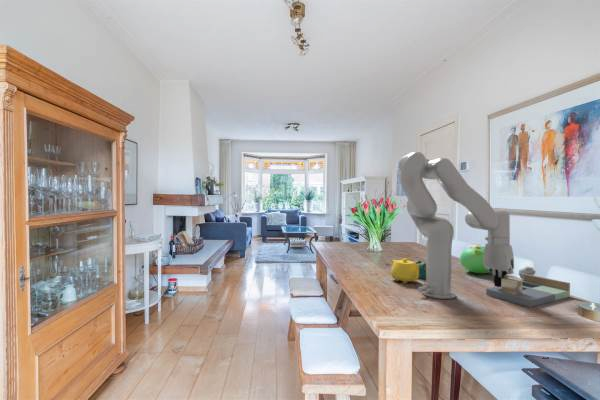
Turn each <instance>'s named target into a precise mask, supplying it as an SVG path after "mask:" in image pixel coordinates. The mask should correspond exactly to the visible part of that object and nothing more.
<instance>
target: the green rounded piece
mask: <svg viewBox="0 0 600 400" xmlns="http://www.w3.org/2000/svg"><path fill="white" fill-rule="evenodd" d="M484 249H485V246H481V245H480V244H475V245H474V246H471V247H467V248H465V249H464V250H463V251H462V252H461V254H460V257H459V260H460V261H459V262H460V264H461V266H462V267H463V268H464V269H465V270H466V271H469V272H472V273H474V274H489V273H491V272H490V271H489V270H487V269H485V266H484V265H483V256H484Z"/></svg>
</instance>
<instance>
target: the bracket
mask: <svg viewBox="0 0 600 400" xmlns="http://www.w3.org/2000/svg"><path fill="white" fill-rule="evenodd" d="M413 262H415V263H416V265H417V264H421V265H420V266H419V278H418V279H420V280H426V261H421V260H414V261H413Z"/></svg>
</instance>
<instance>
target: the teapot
mask: <svg viewBox="0 0 600 400" xmlns="http://www.w3.org/2000/svg"><path fill="white" fill-rule="evenodd" d="M420 265H421V264H417V265H416V263H415V262H414V261H412V260H408V258H401V259H399V260H397V259H396V260H395V259H392V260H391V270H390V275H391V277H392V278H393V279H394V281H396V282H399V281H401V282H402V284H405V285H406V284H408V282H411V283H416V281H417V280H418V279H419V266H420Z"/></svg>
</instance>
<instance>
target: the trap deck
mask: <svg viewBox="0 0 600 400" xmlns="http://www.w3.org/2000/svg"><path fill="white" fill-rule="evenodd" d="M485 290H486V291H485V293H486V294H485V295H486V296H489V297H492V298H496V299H499V300H503V301H506V302H508V303H514V304H517V305H520V306H524V307H527V308H532V307H533V308H534V307H536V306H539V305H543V304H547V303H548V304H549V303H551V302H554V301H559V300H562V299H563V300H564V299H566V298H570V297H571V283H570V282H567V281H562V280H558V279H552V278H547V277H542V276H538V275H537V276H536V275H528V274H524V280H522V293H521V294H517V295H513V294H509V293H506V292H502V291H501V287H497V286H494V287H489V288H486V289H485Z"/></svg>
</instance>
